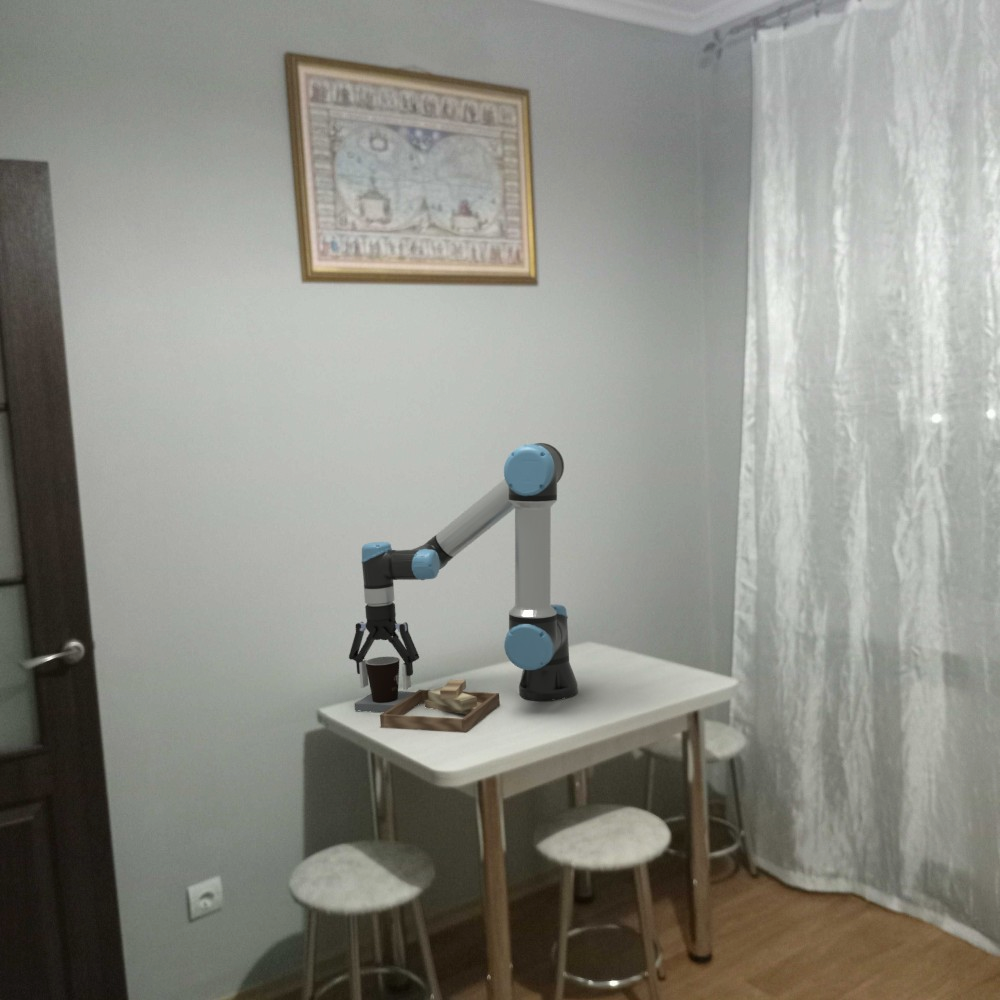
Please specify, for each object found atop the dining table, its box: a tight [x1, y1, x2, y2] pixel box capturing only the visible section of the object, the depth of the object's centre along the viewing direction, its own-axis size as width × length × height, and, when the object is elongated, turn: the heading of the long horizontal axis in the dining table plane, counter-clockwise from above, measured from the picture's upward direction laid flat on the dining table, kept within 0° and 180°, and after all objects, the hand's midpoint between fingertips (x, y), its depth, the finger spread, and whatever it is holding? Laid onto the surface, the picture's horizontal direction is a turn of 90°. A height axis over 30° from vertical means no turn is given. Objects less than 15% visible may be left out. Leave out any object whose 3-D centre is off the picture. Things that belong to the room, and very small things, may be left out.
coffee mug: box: [365, 656, 401, 703], centre depth 251 cm, size 12×9×10 cm
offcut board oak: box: [424, 699, 482, 715], centre depth 245 cm, size 16×5×2 cm, turn 54°
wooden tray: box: [379, 689, 501, 733], centre depth 240 cm, size 22×22×3 cm
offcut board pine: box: [428, 686, 477, 711], centre depth 244 cm, size 14×5×2 cm, turn 40°
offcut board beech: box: [440, 679, 467, 699], centre depth 245 cm, size 10×4×2 cm, turn 169°
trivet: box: [353, 690, 416, 713], centre depth 252 cm, size 12×12×2 cm
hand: (385, 687), depth 252 cm, fingers open, 11 cm apart
